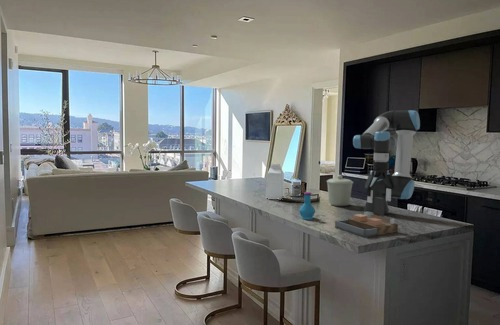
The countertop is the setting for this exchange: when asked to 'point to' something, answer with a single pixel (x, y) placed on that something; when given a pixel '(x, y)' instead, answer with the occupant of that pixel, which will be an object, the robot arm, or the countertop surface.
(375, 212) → the grey bar
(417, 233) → the countertop surface
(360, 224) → the board
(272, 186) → the milk
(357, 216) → the tile
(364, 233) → the tray
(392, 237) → the countertop surface
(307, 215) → the perfume bottle
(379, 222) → the tile
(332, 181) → the canister
